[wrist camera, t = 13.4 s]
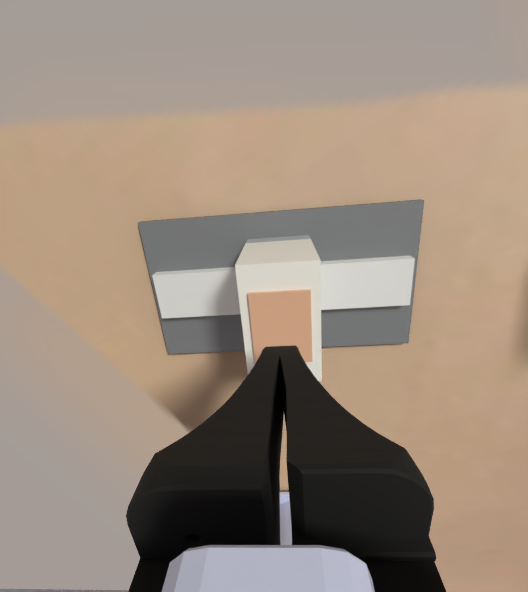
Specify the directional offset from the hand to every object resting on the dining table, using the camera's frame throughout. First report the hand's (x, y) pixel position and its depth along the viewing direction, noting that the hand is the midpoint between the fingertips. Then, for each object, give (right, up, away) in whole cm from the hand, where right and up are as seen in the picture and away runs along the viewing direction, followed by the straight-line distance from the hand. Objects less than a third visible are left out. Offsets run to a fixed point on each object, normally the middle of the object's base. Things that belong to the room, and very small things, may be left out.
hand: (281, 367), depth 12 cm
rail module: (0, +4, +9) cm, 9 cm away
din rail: (0, +4, +9) cm, 10 cm away
